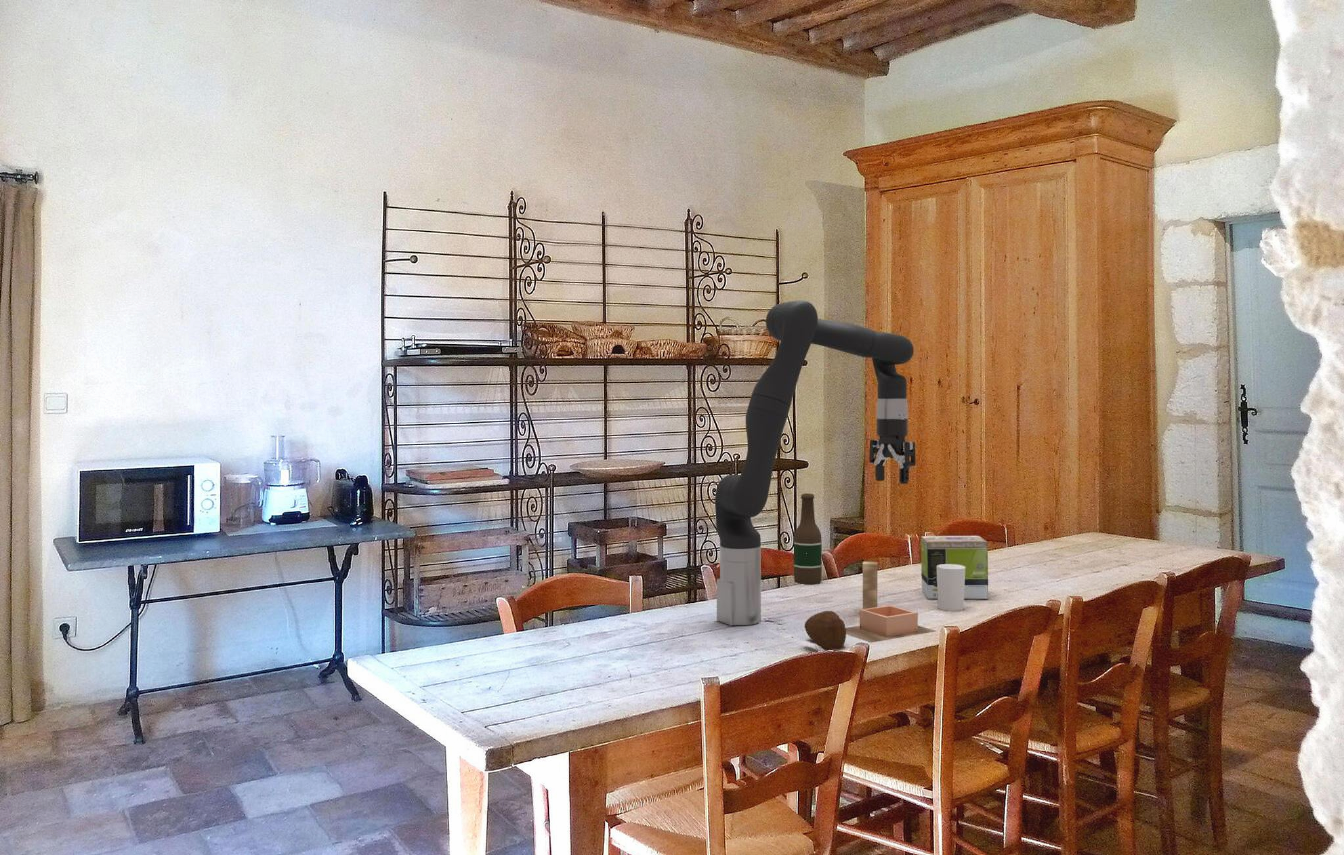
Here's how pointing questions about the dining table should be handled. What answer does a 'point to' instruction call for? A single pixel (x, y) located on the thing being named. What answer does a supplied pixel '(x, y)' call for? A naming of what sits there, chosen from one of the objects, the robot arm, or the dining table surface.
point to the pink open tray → (888, 620)
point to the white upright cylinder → (950, 586)
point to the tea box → (955, 552)
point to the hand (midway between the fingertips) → (891, 482)
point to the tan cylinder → (869, 585)
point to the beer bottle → (807, 545)
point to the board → (874, 637)
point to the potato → (826, 630)
